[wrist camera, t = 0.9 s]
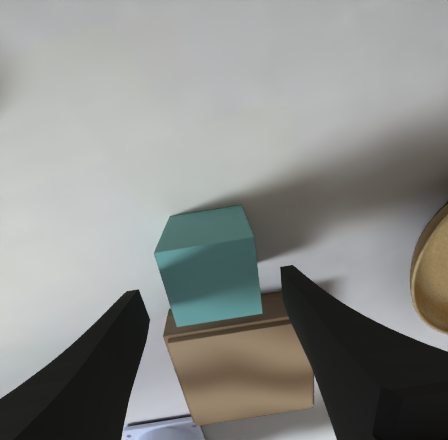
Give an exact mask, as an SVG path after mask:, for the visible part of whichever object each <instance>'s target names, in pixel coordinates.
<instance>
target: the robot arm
mask: <svg viewBox="0 0 448 440" xmlns="http://www.w3.org/2000/svg"><path fill="white" fill-rule="evenodd" d="M280 268H281V284H282V299H283V302H284V305H285V308H286V311H287V314H288V317H289V320H290V322H291V324H292V326H293V328H294V330H295V333H296V335H297V337H298V339H299V341H300V343H301V346H302V348H303V350H304V352H305V354H306V356H307V358H308V361H309V363H310V365H311V368H312V370H313V372H314V375H315V378H316V381H317V383H318V386H319V389H320V392H321V395H322V397H323V400H324V403H325V406H326V409H327V412H328V415H329V417H330V420H331V423H332V426H333V429H334V432H335V435H336V438H337V440H448V352H447V351H444V350H441V349H438V348H436V347H433V346H430V345H427V344H425V343H422V342H420V341H417V340H415V339H413V338H410V337H408V336H405V335H403V334H401V333H399V332H396V331H394V330H392V329H390V328H388V327H386V326H384V325H382V324H380V323H377V322H375V321H373V320H371V319H370V318H368V317H366V316H364V315H362V314H360V313H359V312H357V311H355V310H353V309H352V308H350V307H348V306H347V305H345V304H343V303H342V302H340V301H339V300H337V299H336V298H334V297H333V296H331V295H330V294H329V293H327V292H326V291H324V290H323V289H322V288H320V287H319V286H318V285H316V284H315V283H314V282H313V281H311V280H310V279H309V278H308V277H306V276H305V275H304V274H303V273H302V272H300V271H299V270H298V269H297V268H296V267H294V266H293V265H290V266H284V267H280ZM149 322H150V319H149V316H148V313H147V311H146V308H145V305H144V302H143V300H142V297H141V294H140V292H139V290H132V291H127V292H126V293H124V294H123V295H122V296H121V297H120V298H119V299H118V300H117V301H116V302H115V303H114V304H113V305H112V306H111V307H110V308H109V309H108V311H107V312H106V313H105V314H104V315H103V316H102V317H101V318H100V319H99V320H98V321H97V322H96V323H95V324H94V325H92V326H91V327H90V328H89V329H88V330H87V331H86V332H85V333H84V334H83V335H82V336H81V337H80V338H79V339H78V340H76V341H75V342H74V343H73V344H72V345H71V346H70V347H69V348H67V349H66V350H65V351H64V352H63V353H62V354H60V355H59V356H58V357H57V358H55V359H54V360H53V361H52V362H51V363H49V364H48V365H47V366H45V367H44V368H43V369H41V370H40V371H39V372H37V373H36V374H35V375H33V376H32V377H31V378H29V379H28V380H27V381H25V382H24V383H23V384H21V385H20V386H18V387H17V388H16V389H14V390H13V391H11V392H10V393H8V394H7V395H5V396H4V397H2V398H1V399H0V440H121V437H122V432H123V435H124V436H125V438H126V440H205V438H204V435H203V432H202V429H201V426H200V425H199V426H196V425H195V423H193V420H192V417H186V418H179V419H173V420H167V421H160V422H154V423H147V424H141V425H135V426H128V427H125V428H124V430H123V426H124V421H125V417H126V412H127V407H128V402H129V398H130V394H131V390H132V387H133V384H134V380H135V377H136V374H137V370H138V367H139V364H140V361H141V357H142V354H143V351H144V347H145V344H146V340H147V335H148V329H149Z"/></svg>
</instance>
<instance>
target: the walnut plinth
mask: <svg viewBox="0 0 448 440" xmlns="http://www.w3.org/2000/svg"><path fill="white" fill-rule="evenodd" d="M261 304H262V313H263V314H256V315H250V316H244V317H238V318H231V319H225V320H219V321H213V322H206V323H200V324H194V325H187V326H181V327H177V326H176V323H175V319H174V316H173V313H172V310H171V309H169V312H168V316H167V321H166V325H165V330H164V335H163V337H164V340H165V343H166V346H167V349H168V352H169V355H170V357H171V360H172V363H173V366H174V369H175V372H176V374H177V377H178V380H179V383H180V386H181V389H182V391H183V394H184V397H185V400H186V403H187V406H188V408H189V411H190V414H191V417H192V420H193V423H195V425H196V426H199V425H206V424H212V423H219V422H225V421H231V420H238V419H244V418H251V417H257V416H263V415H270V414H276V413H283V412H289V411H295V410H302V409H308V408H313V404H314V372H313V370H312V368H311V365H310V363H309V361H308V358H307V356H306V354H305V352H304V350H303V348H302V346H301V343H300V341H299V339H298V337H297V335H296V333H295V330H294V328H293V326H292V324H291V322H290V320H289V317H288V314H287V311H286V308H285V305H284V302H283V299H282V292H276V293H270V294H264V295H261Z"/></svg>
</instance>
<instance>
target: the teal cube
mask: <svg viewBox="0 0 448 440" xmlns="http://www.w3.org/2000/svg"><path fill="white" fill-rule="evenodd" d="M154 255H155V258H156V261H157V265H158V268H159V271H160V274H161V277H162V281H163V284H164V287H165V290H166V294H167V297H168V300H169V303H170V306H171V310H172V313H173V316H174V319H175V323H176V326H177V327H181V326H187V325H194V324H200V323H206V322H213V321H219V320H225V319H231V318H238V317H244V316H250V315H256V314H263V313H262V304H261V295H260V286H259V277H258V268H257V259H256V250H255V241H254V236H253V233H252V231H251V228H250V225H249V223H248V220H247V218H246V215H245V213H244V210H243V208H242V205H238V206H231V207H225V208H219V209H213V210H207V211H200V212H194V213H188V214H182V215H176V216H170V217H169V219H168V222H167V224H166V226H165V229H164V231H163V233H162V236H161V238H160V240H159V242H158V245H157V247H156V249H155V252H154Z"/></svg>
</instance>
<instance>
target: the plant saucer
mask: <svg viewBox="0 0 448 440" xmlns="http://www.w3.org/2000/svg"><path fill="white" fill-rule="evenodd" d="M410 290H411V296H412V301H413V305H414V308H415V310H416V312H417V314H418V316H419V317H420V318H421V320H422V321H423V322H424V323H425V324H427V325H428V326H429V327H431V328H432V329H434V330H436V331H438V332H441V333H444V334H447V335H448V204H447V205H446V206H445V207H443V208H442V209H441V210H440V211H439V212H438V213H437V214H436V215H435V217H434V218H433V219H432V220H431V221H430V223H429V224H428V225H427V227H426V228H425V230H424V231H423V233H422V235H421V236H420V238H419V240H418V242H417V245H416V248H415V251H414V254H413V258H412V263H411V270H410Z"/></svg>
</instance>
